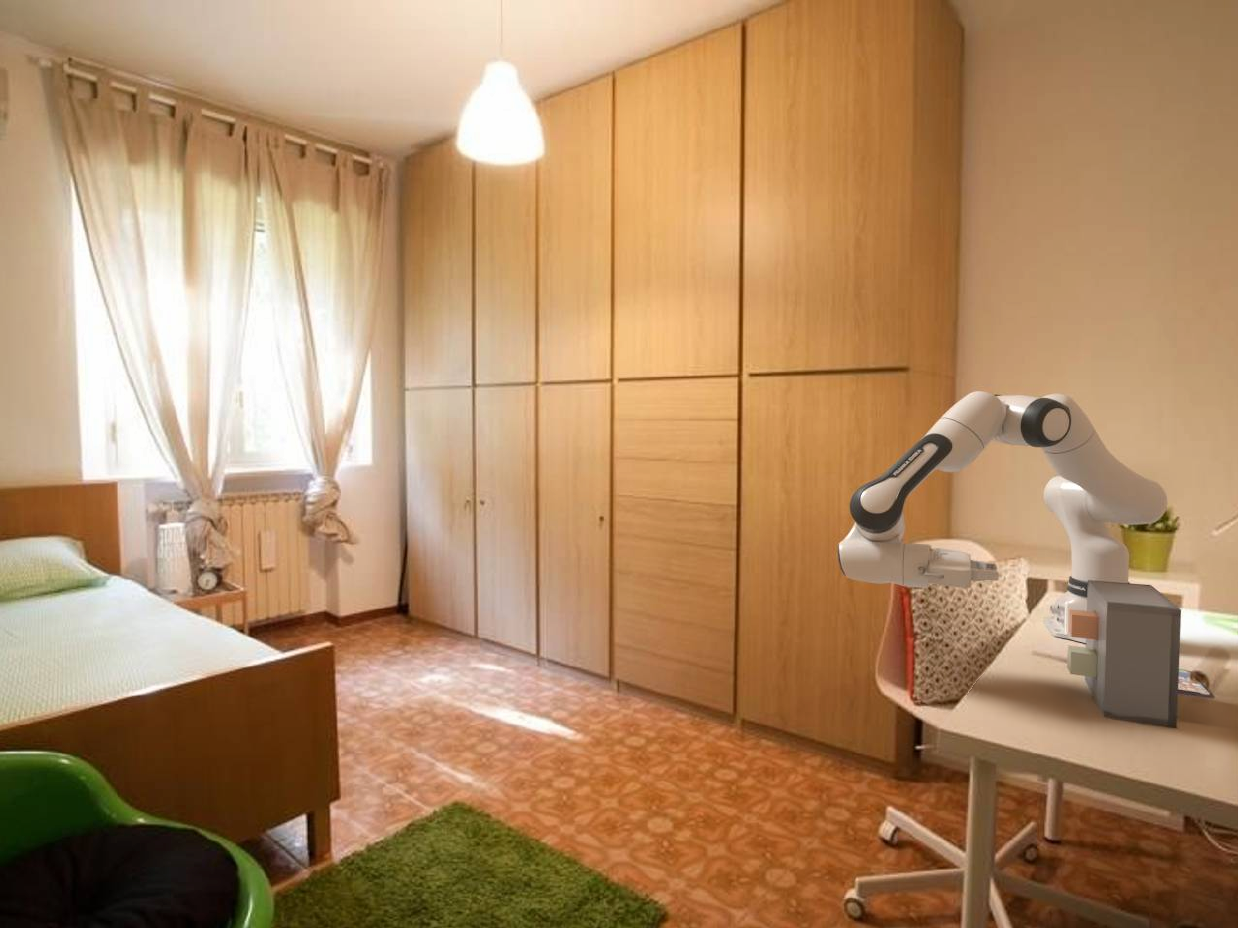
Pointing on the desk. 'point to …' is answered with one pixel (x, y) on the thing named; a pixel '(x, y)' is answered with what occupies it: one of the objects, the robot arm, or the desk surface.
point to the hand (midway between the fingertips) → (997, 571)
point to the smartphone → (1191, 686)
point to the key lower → (1082, 661)
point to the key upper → (1083, 624)
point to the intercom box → (1135, 653)
